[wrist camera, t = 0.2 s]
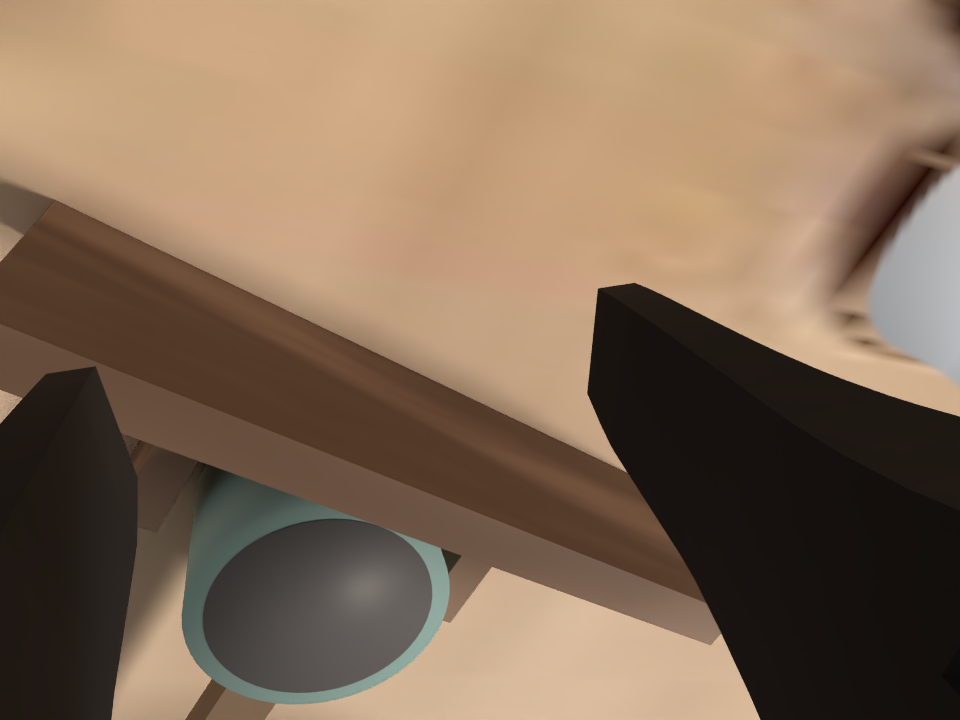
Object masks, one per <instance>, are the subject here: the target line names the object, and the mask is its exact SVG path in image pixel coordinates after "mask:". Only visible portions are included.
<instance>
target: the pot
mask: <svg viewBox="0 0 960 720" xmlns="http://www.w3.org/2000/svg"><path fill="white" fill-rule="evenodd" d="M449 594H450V585H449V576H448V570H447V566H446V563H445V560H444V557H443V554H442V551H441V548H439V547H436V546H433V545H431V544H428V543H425V542H422V541H419V540H417V539H414V538H411V537H408V536H405V535H403V534H400V533H397V532H394V531H392V530H389V529H386V528H383V527H380V526H378V525H375V524H372V523H369V522H367V521H364V520H361V519H358V518H355V517H353V516H350V515H347V514H344V513H342V512H339V511H336V510H333V509H330V508H328V507H325V506H322V505H319V504H317V503H314V502H311V501H308V500H305V499H303V498H300V497H297V496H294V495H291V494H289V493H286V492H283V491H280V490H278V489H275V488H272V487H269V486H266V485H264V484H261V483H258V482H255V481H253V480H250V479H247V478H244V477H241V476H239V475H236V474H233V473H230V472H228V471H225V470H222V469H219V468H216V467H214V466H211V465H208V464H206V465H205V467H204V469H203V471H202V473H201V475H200V479H199V482H198V485H197V490H196V497H195V505H194V514H193V522H192V531H191V540H190V548H189V557H188V566H187V574H186V583H185V592H184V600H183V609H182V630H183V634H184V638H185V642H186V645H187V647H188V649H189V651H190V654H191V655H192V657H193V658H194V660H195V661H196V663H197V664H198V665H199V667H200V668H201V669H202V670H203V671H204V672H205V673H206V674H207V675H208V676H209V677H211V678H212V680H211V681H210V683H209V684H208V686H207V687H206V689H205V691H204V692H203V694H202V695H201V697H200V698H199V700H198V701H197V703H196V704H195V706H194V707H193V709H192V710H191V712H190V713H189V715H188V716H187V718H186V720H265V718H266V717H267V715H268V714H269V712H270V711H271V710H272V708H273V707H274V705H275V704H276V703H279V704H311V703H320V702H327V701H331V700H336V699H341V698H344V697H347V696H351V695H354V694H357V693H359V692H362V691H364V690H367V689H369V688H372V687H374V686H376V685H378V684H380V683H381V682H383V681H385V680H387V679H389V678H390V677H392V676H393V675H395V674H396V673H398V672H399V671H401V670H402V669H403V668H405V667H406V666H407V665H408V664H410V663H411V662H412V661H413V660H414V659H415V658H416V657H417V656H418V655H419V654H420V653H421V652H422V651H423V650H424V649H425V648H426V646H427V645H428V644H429V643H430V642H431V640H432V638H433V637H434V635H435V634H436V632H437V631H438V629H439V627H440V625H441V623H442V621H443V619H444V616H445V613H446V609H447V606H448V600H449Z"/></svg>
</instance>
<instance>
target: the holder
mask: <svg viewBox="0 0 960 720" xmlns="http://www.w3.org/2000/svg"><path fill="white" fill-rule="evenodd" d="M94 366H96V368H97V371H98V374H99V376H100V379H101V382H102V384H103V387H104V390H105V392H106V395H107V398H108V400H109V403H110V406H111V408H112V411H113V413H114V416H115V419H116V421H117V424H118V427H119V429H120V432H121V433H122V434H125V435H127V436H130V437H133V438H136V439H139V440H140V442H139V443H138V445H137V447H136V449H135V451H134V452H133V454H132V456H131V458H130V459H131V461H132V464H133V467H134V469H135V472H136V475H137V477H138V521H137V526H138V527H141V528H144V529H148V530H151V531H154V532H157V531H158V529H159V528H160V526H161V524H162V522H163V521H164V519H165V517H166V516H167V514H168V512H169V511H170V509H171V507H172V505H173V504H174V502H175V500H176V499H177V497H178V495H179V494H180V492H181V490H182V488H183V487H184V485H185V483H186V482H187V480H188V478H189V477H190V475H191V473H192V471H193V470H194V468H195V466H196V465H197V463H198V461H200V462H202V463H205V464H208V465H211V466H214V467H216V468H219V469H222V470H225V471H228V472H230V473H233V474H236V475H239V476H241V477H244V478H247V479H250V480H253V481H255V482H258V483H261V484H264V485H266V486H269V487H272V488H275V489H278V490H280V491H283V492H286V493H289V494H291V495H294V496H297V497H300V498H303V499H305V500H308V501H311V502H314V503H317V504H319V505H322V506H325V507H328V508H330V509H333V510H336V511H339V512H342V513H344V514H347V515H350V516H353V517H355V518H358V519H361V520H364V521H367V522H369V523H372V524H375V525H378V526H380V527H383V528H386V529H389V530H392V531H394V532H397V533H400V534H403V535H405V536H408V537H411V538H414V539H417V540H419V541H422V542H425V543H428V544H431V545H433V546H436V547H439V548H441V551H442V554H443V557H444V560H445V563H446V566H447V570H448V576H449V585H450V594H449V600H448V606H447V609H446V613H445V616H444V619H443V621H446V622H449V623H450V622H451V621H452V620H453V618H454V617H455V616H456V614H457V613H458V612H459V610H460V609H461V607H462V606H463V605H464V603H465V602H466V601H467V599H468V598H469V597H470V595H471V594H472V593H473V591H474V590H475V589H476V587H477V586H478V585H479V583H480V582H481V581H482V579H483V578H484V577H485V575H486V574H487V573H488V571H489V570H490V569H491V567H494V568H497V569H500V570H503V571H506V572H508V573H511V574H514V575H517V576H519V577H522V578H525V579H528V580H531V581H533V582H536V583H539V584H542V585H545V586H547V587H550V588H553V589H556V590H558V591H561V592H564V593H567V594H570V595H572V596H575V597H578V598H581V599H583V600H586V601H589V602H592V603H595V604H597V605H600V606H603V607H606V608H608V609H611V610H614V611H617V612H620V613H622V614H625V615H628V616H631V617H633V618H636V619H639V620H642V621H645V622H647V623H650V624H653V625H656V626H659V627H661V628H664V629H667V630H670V631H672V632H675V633H678V634H681V635H684V636H686V637H689V638H692V639H695V640H697V641H700V642H703V643H706V644H709V645H711V644H712V643H713V642H714V641H715V640H716V639H717V637H718V636H719V635H720V634H721V632H720V630H719V628H718V626H717V624H716V622H715V620H714V618H713V616H712V614H711V612H710V610H709V608H708V606H707V604H706V602H705V600H704V598H703V595H702V593H701V591H700V589H699V587H698V585H697V583H696V581H695V580H694V578H693V576H692V574H691V573H690V571H689V569H688V567H687V566H686V564H685V562H684V561H683V559H682V557H681V555H680V554H679V552H678V551H677V549H676V548H675V546H674V544H673V543H672V541H671V540H670V538H669V537H668V535H667V533H666V532H665V530H664V529H663V527H662V526H661V524H660V523H659V521H658V519H657V518H656V516H655V515H654V513H653V512H652V510H651V509H650V507H649V505H648V504H647V502H646V501H645V499H644V498H643V496H642V495H641V493H640V491H639V490H638V488H637V487H636V485H635V484H634V482H633V480H632V479H631V477H630V476H629V474H627V473H625V472H623V471H621V470H619V469H617V468H615V467H613V466H611V465H609V464H606V463H604V462H602V461H600V460H598V459H596V458H594V457H592V456H590V455H588V454H585V453H583V452H581V451H579V450H577V449H575V448H573V447H571V446H569V445H567V444H565V443H562V442H560V441H558V440H556V439H554V438H552V437H550V436H548V435H546V434H544V433H541V432H539V431H537V430H535V429H533V428H531V427H529V426H527V425H525V424H523V423H520V422H518V421H516V420H514V419H512V418H510V417H508V416H506V415H504V414H502V413H500V412H497V411H495V410H493V409H491V408H489V407H487V406H485V405H483V404H481V403H479V402H476V401H474V400H472V399H470V398H468V397H466V396H464V395H462V394H460V393H458V392H455V391H453V390H451V389H449V388H447V387H445V386H443V385H441V384H439V383H437V382H435V381H432V380H430V379H428V378H426V377H424V376H422V375H420V374H418V373H416V372H414V371H411V370H409V369H407V368H405V367H403V366H401V365H399V364H397V363H395V362H393V361H390V360H388V359H386V358H384V357H382V356H380V355H378V354H376V353H374V352H372V351H369V350H367V349H365V348H363V347H361V346H359V345H357V344H355V343H353V342H351V341H349V340H346V339H344V338H342V337H340V336H338V335H336V334H334V333H332V332H330V331H328V330H325V329H323V328H321V327H319V326H317V325H315V324H313V323H311V322H309V321H307V320H304V319H302V318H300V317H298V316H296V315H294V314H292V313H290V312H288V311H286V310H284V309H281V308H279V307H277V306H275V305H273V304H271V303H269V302H267V301H265V300H263V299H260V298H258V297H256V296H254V295H252V294H250V293H248V292H246V291H244V290H242V289H239V288H237V287H235V286H233V285H231V284H229V283H227V282H225V281H223V280H221V279H219V278H216V277H214V276H212V275H210V274H208V273H206V272H204V271H202V270H200V269H198V268H195V267H193V266H191V265H189V264H187V263H185V262H183V261H181V260H179V259H177V258H174V257H172V256H170V255H168V254H166V253H164V252H162V251H160V250H158V249H156V248H154V247H151V246H149V245H147V244H145V243H143V242H141V241H139V240H137V239H135V238H133V237H130V236H128V235H126V234H124V233H122V232H120V231H118V230H116V229H114V228H112V227H109V226H107V225H105V224H103V223H101V222H99V221H97V220H95V219H93V218H91V217H89V216H86V215H84V214H82V213H80V212H78V211H76V210H74V209H72V208H70V207H68V206H65V205H63V204H61V203H59V202H57V201H55V202H54V203H53V204H52V205H51V206H50V207H49V208H48V209H47V211H46V212H45V213H44V214H43V215H42V216H41V217H40V218H39V220H38V221H37V222H36V223H35V224H34V225H33V226H32V227H31V228H30V230H29V231H28V232H27V233H26V234H25V235H24V236H23V237H22V239H21V240H20V241H19V242H18V243H17V244H16V245H15V246H14V247H13V249H12V250H11V251H10V252H9V253H8V254H7V255H6V256H5V258H4V259H3V260H2V261H1V262H0V390H2V391H5V392H8V393H11V394H13V395H16V396H19V397H22V398H24V397H25V396H26V395H27V393H28V392H29V391H30V390H31V389H32V388H33V387H34V386H35V385H36V384H37V383H38V382H39V381H40V380H41V379H42V378H43V376H44V375H45V374H48V373H55V372H61V371H68V370H74V369H81V368H87V367H94Z"/></svg>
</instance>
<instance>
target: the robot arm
mask: <svg viewBox="0 0 960 720" xmlns="http://www.w3.org/2000/svg"><path fill="white" fill-rule="evenodd" d="M587 394H588V396H589V398H590V401H591V403H592V405H593V408H594V410H595V412H596V415H597V417H598V419H599V422H600V424H601V426H602V428H603V430H604V432H605V434H606V436H607V439H608V441H609V443H610V445H611V447H612V448H613V450H614V452H615V453H616V455H617V457H618V458H619V460H620V461H621V463H622V465H623V466H624V468H625V469H626V471H627V472H628V474H629V476H630V477H631V479H632V480H633V482H634V484H635V485H636V487H637V488H638V490H639V491H640V493H641V495H642V496H643V498H644V499H645V501H646V502H647V504H648V505H649V507H650V509H651V510H652V512H653V513H654V515H655V516H656V518H657V519H658V521H659V523H660V524H661V526H662V527H663V529H664V530H665V532H666V533H667V535H668V537H669V538H670V540H671V541H672V543H673V544H674V546H675V548H676V549H677V551H678V552H679V554H680V555H681V557H682V559H683V561H684V562H685V564H686V566H687V567H688V569H689V571H690V573H691V574H692V576H693V578H694V580H695V581H696V583H697V585H698V587H699V589H700V591H701V593H702V595H703V598H704V600H705V602H706V604H707V606H708V608H709V610H710V612H711V614H712V616H713V618H714V620H715V622H716V624H717V626H718V628H719V630H720V632H721V634H722V636H723V638H724V640H725V642H726V644H727V647H728V649H729V651H730V653H731V655H732V657H733V659H734V662H735V664H736V666H737V668H738V670H739V672H740V675H741V677H742V679H743V681H744V683H745V685H746V687H747V690H748V692H749V694H750V696H751V699H752V701H753V703H754V706H755V708H756V710H757V713H758V715H759V717H760V720H960V417H959V416H956V415H952V414H949V413H945V412H942V411H938V410H934V409H931V408H927V407H924V406H920V405H917V404H914V403H911V402H907V401H904V400H901V399H898V398H895V397H892V396H889V395H886V394H883V393H880V392H877V391H874V390H872V389H869V388H866V387H863V386H860V385H858V384H855V383H852V382H849V381H846V380H844V379H841V378H838V377H836V376H833V375H831V374H828V373H826V372H823V371H821V370H818V369H816V368H813V367H811V366H809V365H807V364H804V363H802V362H800V361H797V360H795V359H793V358H791V357H788V356H786V355H784V354H781V353H779V352H777V351H775V350H773V349H770V348H768V347H766V346H764V345H762V344H760V343H758V342H755V341H753V340H751V339H749V338H747V337H745V336H743V335H741V334H739V333H737V332H735V331H733V330H731V329H729V328H727V327H725V326H723V325H721V324H719V323H717V322H715V321H713V320H711V319H709V318H707V317H705V316H703V315H701V314H699V313H697V312H695V311H693V310H691V309H689V308H687V307H685V306H683V305H681V304H679V303H677V302H675V301H673V300H671V299H669V298H667V297H665V296H663V295H661V294H659V293H657V292H655V291H653V290H650V289H648V288H646V287H643V286H641V285H638V284H636V283H631V284H625V285H618V286H612V287H605V288H599V289H598V294H597V304H596V314H595V323H594V333H593V343H592V353H591V363H590V372H589V382H588V392H587ZM137 521H138V477H137V475H136V472H135V469H134V467H133V464H132V461H131V459H130V456H129V453H128V451H127V448H126V445H125V443H124V440H123V437H122V435H121V432H120V429H119V427H118V424H117V421H116V419H115V416H114V413H113V411H112V408H111V406H110V403H109V400H108V398H107V395H106V392H105V390H104V387H103V384H102V382H101V379H100V376H99V374H98V371H97V368H96V366H94V367H87V368H81V369H74V370H68V371H61V372H55V373H48V374H45V375H44V376H43V378H42V379H41V380H40V381H39V382H38V383H37V384H36V385H35V386H34V387H33V388H32V389H31V390H30V391H29V392H28V393H27V395H26V396H25V397H24V398H23V399H22V400H21V401H20V402H19V403H18V405H17V406H16V407H15V408H14V409H13V410H12V411H11V412H10V414H9V415H8V416H7V417H6V418H5V419H4V420H3V422H2V423H1V424H0V720H111V717H112V708H113V699H114V690H115V684H116V678H117V671H118V665H119V658H120V652H121V646H122V639H123V633H124V626H125V620H126V613H127V607H128V601H129V594H130V588H131V581H132V574H133V567H134V561H135V553H136V546H137Z"/></svg>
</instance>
